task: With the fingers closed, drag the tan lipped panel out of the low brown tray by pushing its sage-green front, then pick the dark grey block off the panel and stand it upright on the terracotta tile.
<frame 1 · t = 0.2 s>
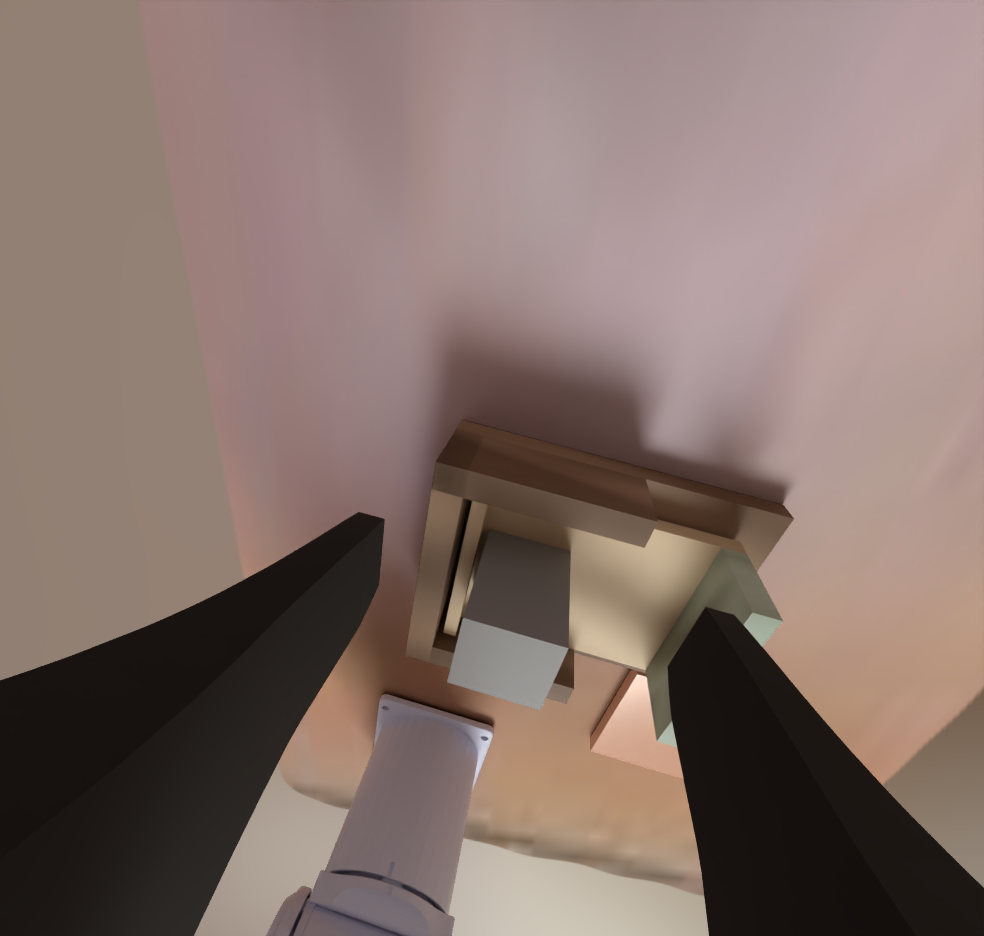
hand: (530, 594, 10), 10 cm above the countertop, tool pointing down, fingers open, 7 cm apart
brown tray: (580, 557, 21), on the countertop
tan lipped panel: (580, 609, 18), point 3 cm above the countertop, slide at 0.0 cm, touching grey block
terracotta tile: (676, 722, 25), on the countertop
grey block: (520, 570, 19), point 2 cm above the countertop, touching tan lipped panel
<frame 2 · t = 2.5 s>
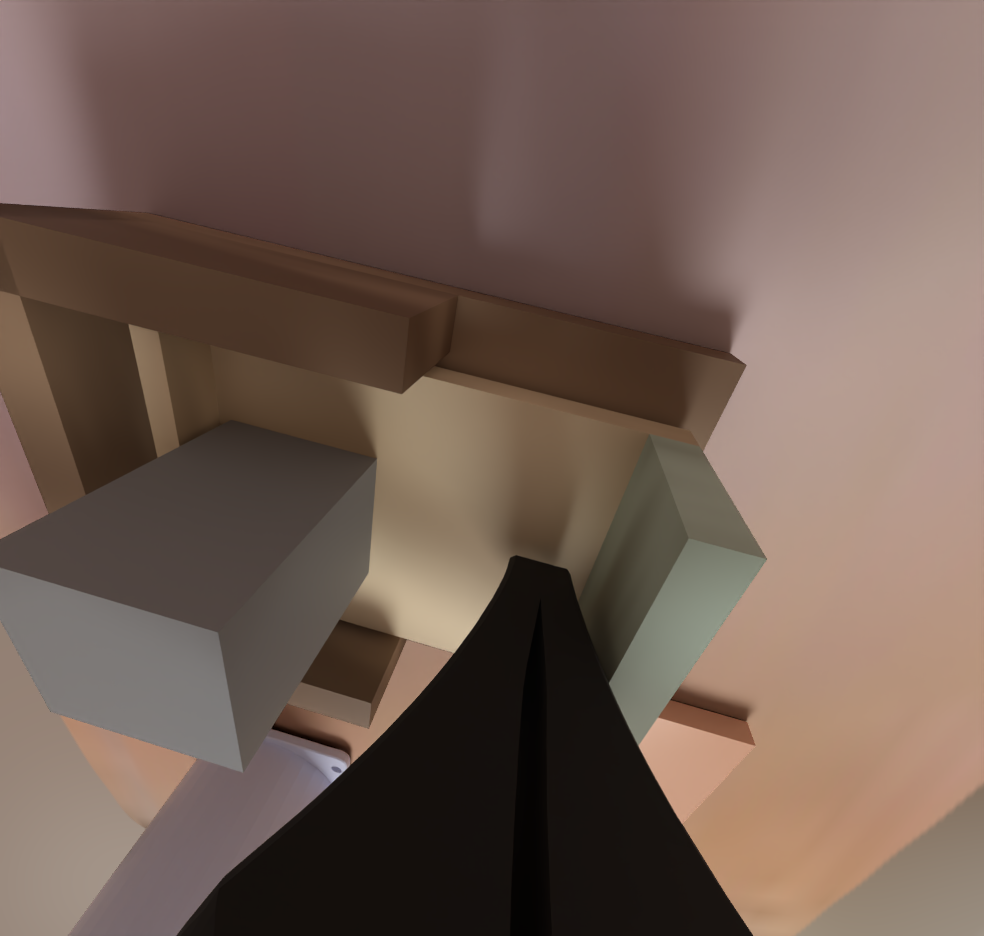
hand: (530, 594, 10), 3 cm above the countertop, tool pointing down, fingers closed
brown tray: (404, 480, 13), on the countertop
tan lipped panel: (390, 565, 9), point 3 cm above the countertop, slide at 0.9 cm, touching grey block, gripper
terracotta tile: (596, 749, 17), on the countertop
grey block: (304, 501, 11), point 2 cm above the countertop, touching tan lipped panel
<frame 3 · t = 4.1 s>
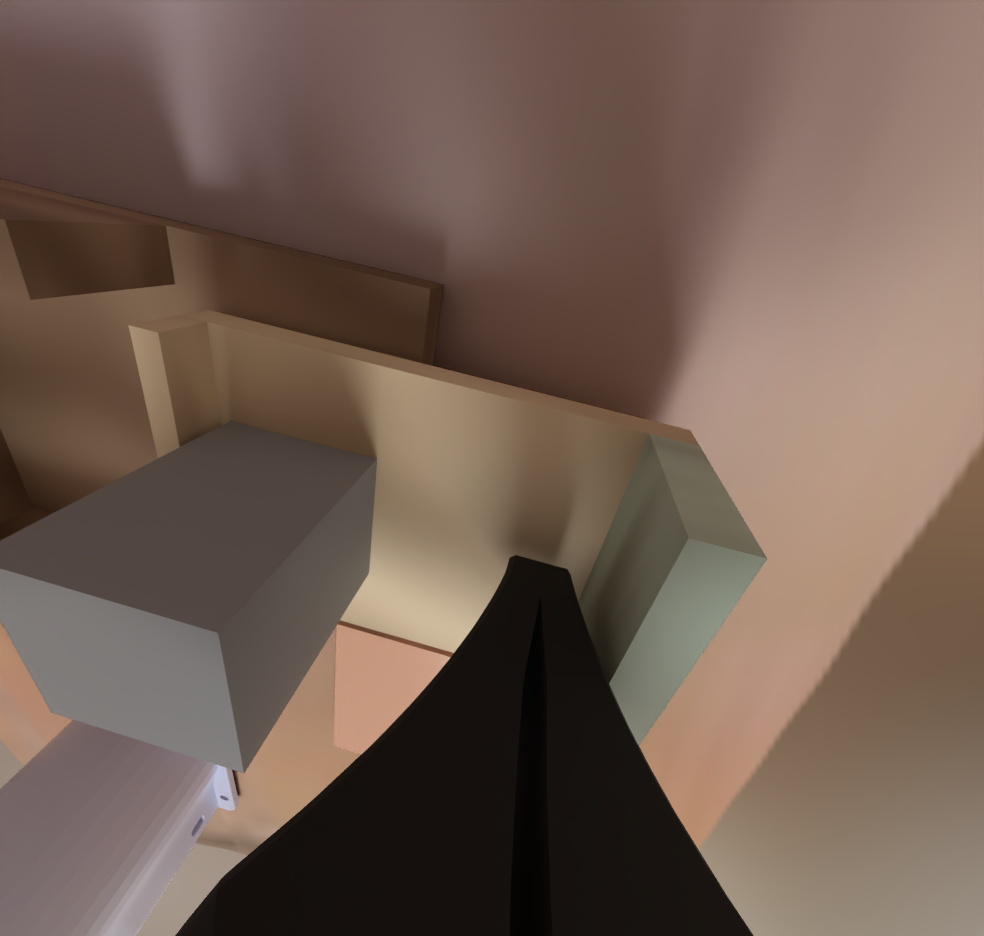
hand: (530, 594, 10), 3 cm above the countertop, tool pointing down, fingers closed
brown tray: (196, 424, 13), on the countertop
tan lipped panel: (391, 565, 9), point 3 cm above the countertop, slide at 7.5 cm, touching grey block, gripper
terracotta tile: (438, 701, 17), on the countertop
grey block: (305, 502, 11), point 2 cm above the countertop, touching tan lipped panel
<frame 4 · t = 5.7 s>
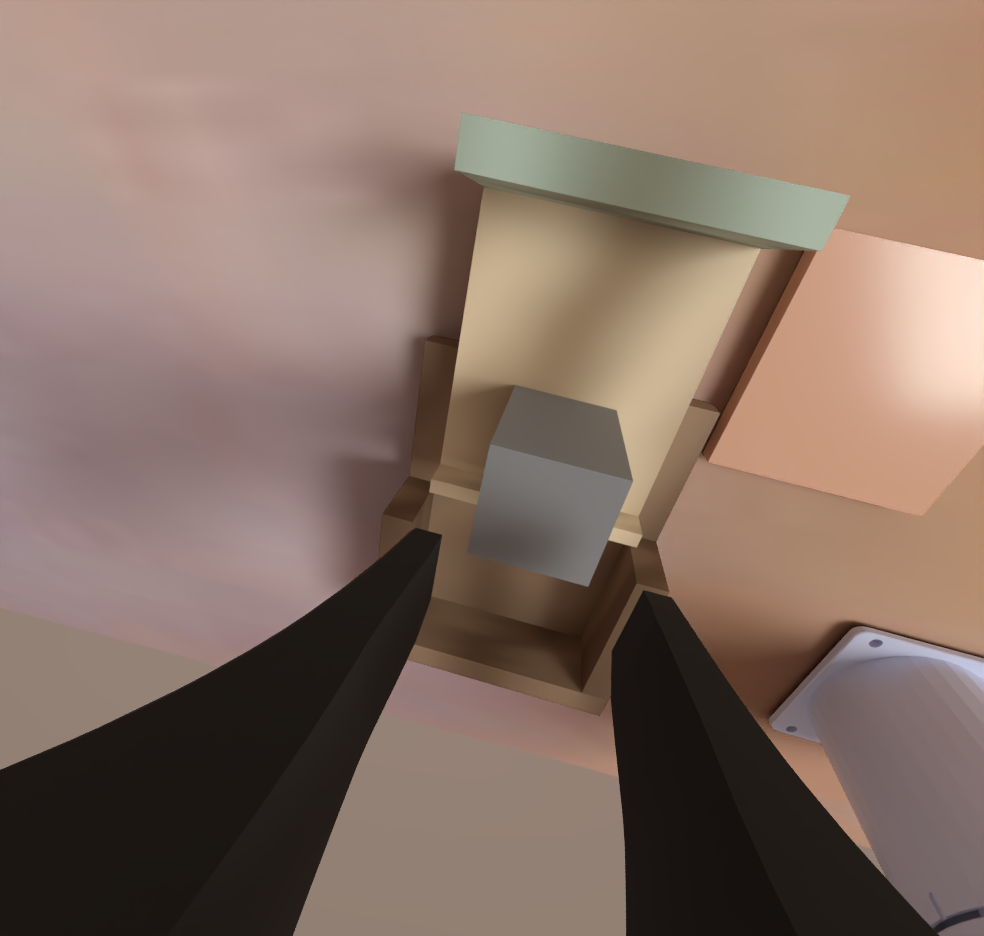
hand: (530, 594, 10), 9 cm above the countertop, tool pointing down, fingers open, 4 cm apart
brown tray: (527, 513, 20), on the countertop
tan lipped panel: (573, 380, 13), point 3 cm above the countertop, slide at 7.5 cm, touching grey block
terracotta tile: (866, 382, 15), on the countertop
grey block: (552, 442, 16), point 2 cm above the countertop, touching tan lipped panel
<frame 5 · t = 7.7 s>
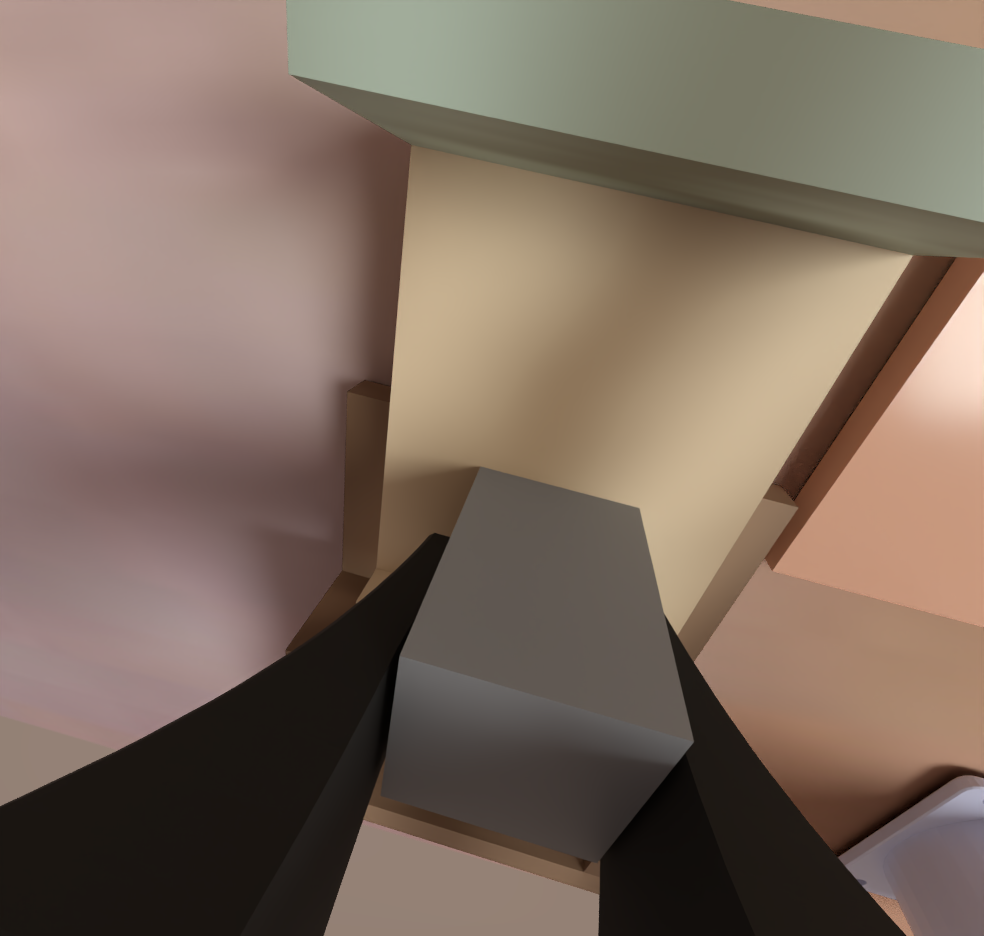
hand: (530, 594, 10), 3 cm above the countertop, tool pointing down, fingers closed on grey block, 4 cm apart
brown tray: (509, 615, 14), on the countertop
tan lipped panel: (571, 477, 8), point 3 cm above the countertop, slide at 7.5 cm, touching grey block
grey block: (538, 548, 10), point 2 cm above the countertop, touching gripper, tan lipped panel
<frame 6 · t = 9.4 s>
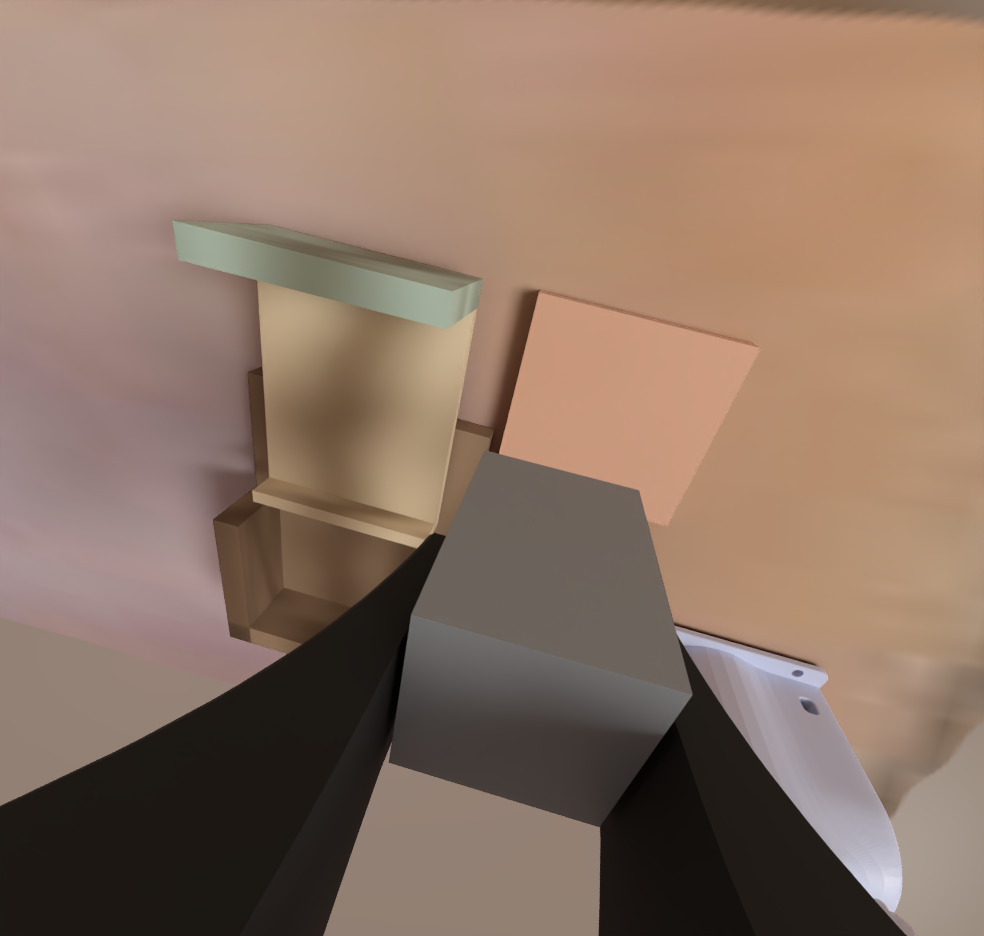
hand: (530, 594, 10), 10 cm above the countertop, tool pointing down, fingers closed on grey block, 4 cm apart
brown tray: (367, 519, 23), on the countertop
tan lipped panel: (340, 413, 16), point 3 cm above the countertop, slide at 7.5 cm
terracotta tile: (608, 414, 18), on the countertop
grey block: (541, 531, 11), point 9 cm above the countertop, touching gripper
when the fingers open (3 cm above the countertop, at t = 11.4 s): grey block stays where it is, resting on terracotta tile.
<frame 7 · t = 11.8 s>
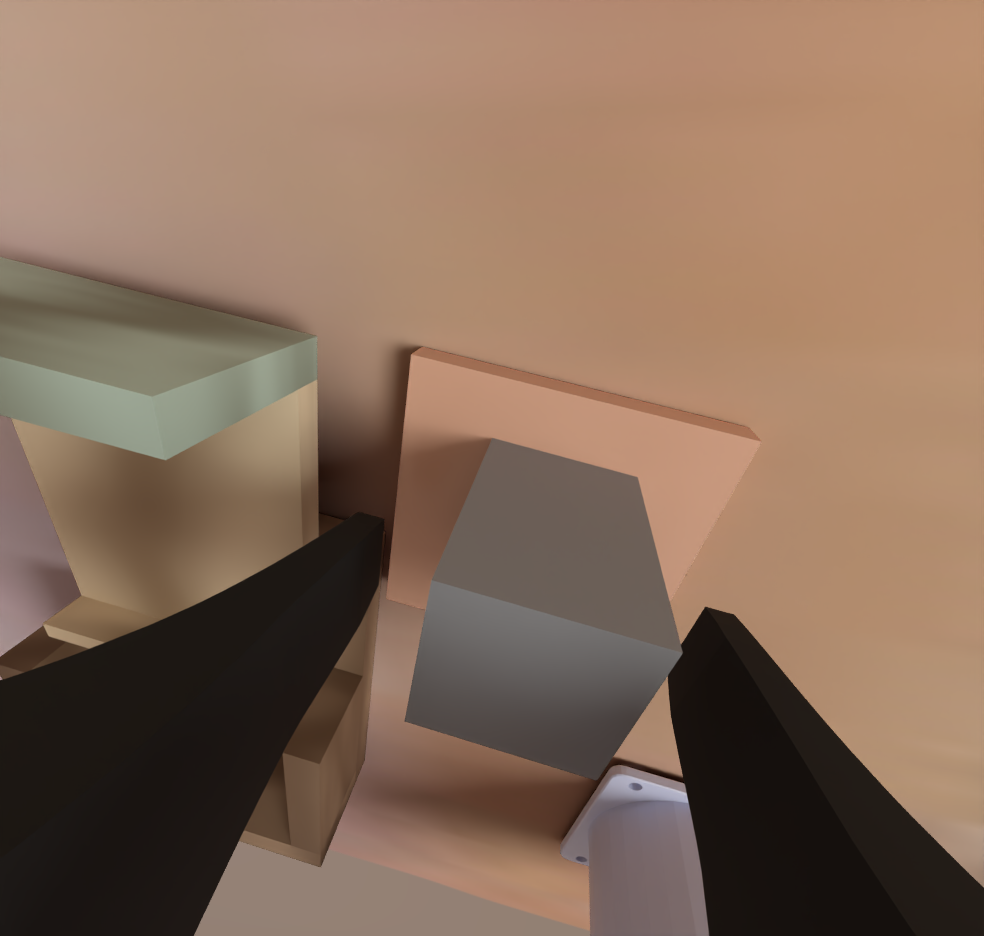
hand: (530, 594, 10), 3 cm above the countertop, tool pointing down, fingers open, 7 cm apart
brown tray: (243, 630, 17), on the countertop
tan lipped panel: (120, 537, 11), point 3 cm above the countertop, slide at 7.5 cm
terracotta tile: (540, 518, 12), on the countertop
grey block: (544, 516, 11), point 1 cm above the countertop, touching terracotta tile
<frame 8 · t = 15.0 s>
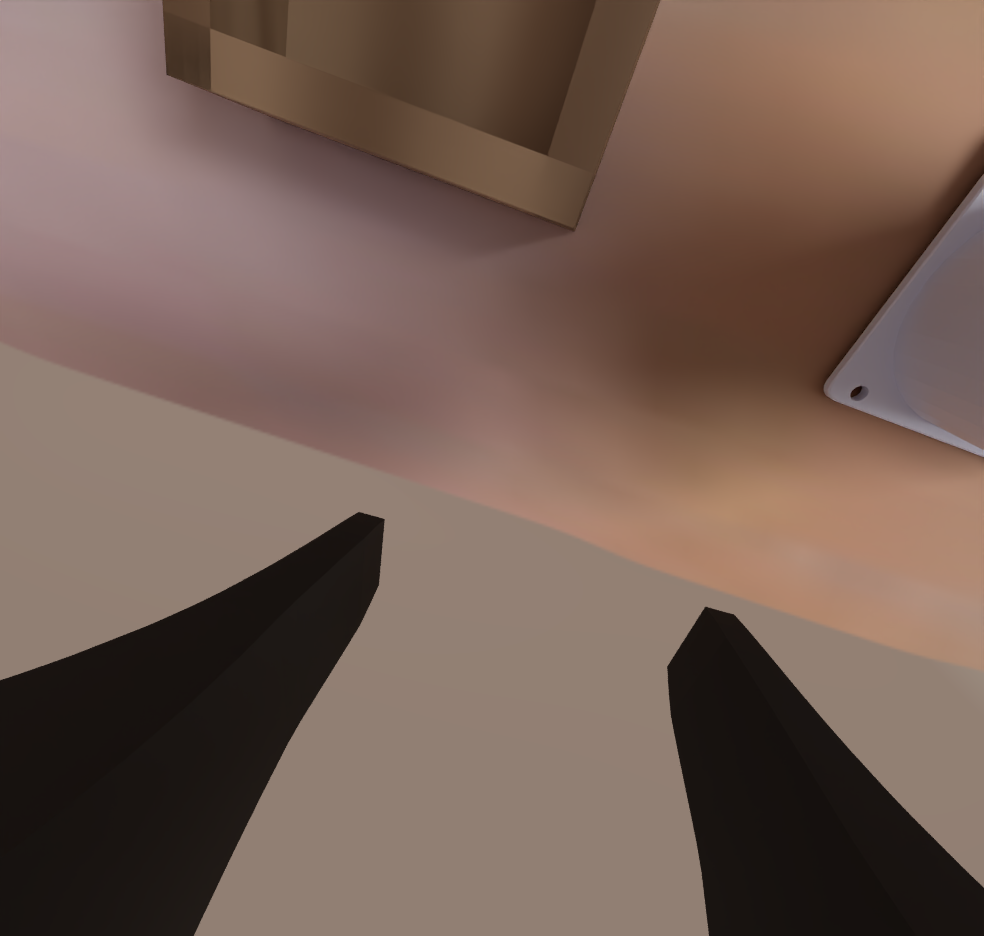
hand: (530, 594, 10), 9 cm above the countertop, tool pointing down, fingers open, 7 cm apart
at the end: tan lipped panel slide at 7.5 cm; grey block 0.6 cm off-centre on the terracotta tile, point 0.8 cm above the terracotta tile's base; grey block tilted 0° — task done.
